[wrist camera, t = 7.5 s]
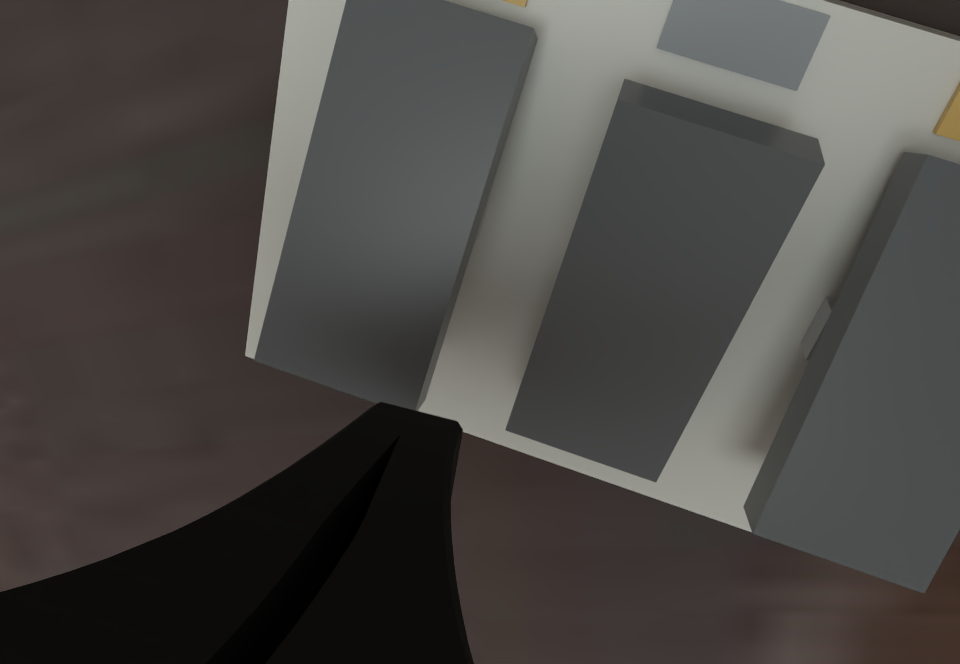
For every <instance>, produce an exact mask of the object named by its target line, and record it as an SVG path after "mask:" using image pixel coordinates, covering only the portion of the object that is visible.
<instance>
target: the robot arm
mask: <svg viewBox="0 0 960 664" xmlns="http://www.w3.org/2000/svg"><path fill="white" fill-rule="evenodd" d="M462 432H463V429H462V427H461V426H460V424H459V423H458V422H457V421H455V420H451V419H447V418H443V417H439V416H435V415H431V414H428V413H424V412H420V411H416V410H412V409H408V408H404V407H400V406H396V405H392V404H388V403H384V402H379V403H378V404H376V405H374V406H373V407H371V408H370V409H369V410H367V411H366V412H365V413H363V414H362V415H361V416H359V417H358V418H357V419H355V420H354V421H353V422H352V423H350V424H349V425H348V426H346V427H345V428H344V429H342V430H341V431H340V432H338V433H337V434H335V435H334V436H333V437H331V438H330V439H329V440H327V441H326V442H324V443H323V444H322V445H320V446H319V447H317V448H316V449H314V450H313V451H311V452H310V453H309V454H307V455H306V456H304V457H303V458H301V459H300V460H298V461H297V462H295V463H294V464H293V465H291V466H290V467H288V468H287V469H285V470H283V471H282V472H280V473H279V474H277V475H275V476H274V477H272V478H271V479H269V480H267V481H266V482H264V483H262V484H261V485H259V486H257V487H256V488H254V489H252V490H251V491H249V492H248V493H246V494H244V495H243V496H241V497H239V498H237V499H236V500H234V501H232V502H230V503H228V504H227V505H225V506H223V507H221V508H219V509H217V510H216V511H214V512H212V513H210V514H208V515H206V516H204V517H202V518H200V519H198V520H196V521H194V522H192V523H190V524H188V525H186V526H184V527H182V528H179V529H177V530H175V531H173V532H171V533H168V534H166V535H163V536H161V537H158V538H156V539H154V540H151V541H149V542H146V543H144V544H141V545H139V546H136V547H134V548H131V549H129V550H127V551H124V552H122V553H119V554H117V555H114V556H112V557H109V558H107V559H104V560H101V561H98V562H95V563H92V564H90V565H87V566H84V567H81V568H78V569H75V570H72V571H69V572H66V573H63V574H60V575H57V576H53V577H50V578H47V579H44V580H41V581H37V582H34V583H31V584H28V585H24V586H21V587H17V588H14V589H10V590H7V591H3V592H0V664H474V663H473V659H472V655H471V652H470V648H469V644H468V640H467V635H466V631H465V626H464V621H463V616H462V611H461V606H460V600H459V594H458V588H457V582H456V574H455V566H454V557H453V546H452V534H451V495H452V490H453V484H454V478H455V472H456V466H457V461H458V455H459V449H460V443H461V438H462Z"/></svg>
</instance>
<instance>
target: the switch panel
mask: <svg viewBox="0 0 960 664" xmlns="http://www.w3.org/2000/svg"><path fill="white" fill-rule="evenodd" d="M445 1H448V2H452V3H455V4H458V5H461V6H464V7H468V8H471V9H474V10H477V11H481V12H484V13H487V14H490V15H494V16H497V17H500V18H503V19H506V20H510V21H513V22H516V23H519V24H523V25H526V26H529V27H532V28H534V30H535V33H536V35H537V38H538V40H537V43H536V46H535V49H534V53H533V56H532V59H531V62H530V66H529V69H528V72H527V75H526V78H525V82H524V85H523V88H522V91H521V94H520V98H519V101H518V104H517V107H516V110H515V114H514V117H513V120H512V123H511V126H510V130H509V133H508V136H507V139H506V143H505V146H504V149H503V152H502V155H501V159H500V162H499V165H498V168H497V171H496V175H495V178H494V181H493V184H492V187H491V191H490V194H489V197H488V200H487V203H486V207H485V210H484V213H483V216H482V220H481V223H480V226H479V229H478V232H477V236H476V239H475V242H474V245H473V248H472V252H471V255H470V258H469V261H468V264H467V268H466V271H465V274H464V277H463V281H462V284H461V287H460V290H459V293H458V297H457V300H456V303H455V306H454V309H453V313H452V316H451V319H450V322H449V325H448V329H447V332H446V335H445V338H444V341H443V345H442V348H441V351H440V354H439V358H438V361H437V364H436V367H435V370H434V374H433V377H432V380H431V383H430V386H429V390H428V393H427V396H426V399H425V402H424V403H423V404H422V406H421V407H420V408H419V410H418V411H420V412H424V413H428V414H431V415H435V416H439V417H443V418H447V419H451V420H455V421H457V422H458V423H459V424H460V426H461V427H462V429H463V432H465V433H468V434H471V435H474V436H477V437H480V438H483V439H485V440H488V441H491V442H494V443H497V444H500V445H503V446H505V447H508V448H511V449H514V450H517V451H520V452H523V453H526V454H528V455H531V456H534V457H537V458H540V459H543V460H546V461H549V462H551V463H554V464H557V465H560V466H563V467H566V468H569V469H572V470H574V471H577V472H580V473H583V474H586V475H589V476H592V477H595V478H597V479H600V480H603V481H606V482H609V483H612V484H615V485H617V486H620V487H623V488H626V489H629V490H632V491H635V492H638V493H640V494H643V495H646V496H649V497H652V498H655V499H658V500H661V501H663V502H666V503H669V504H672V505H675V506H678V507H681V508H684V509H686V510H689V511H692V512H695V513H698V514H701V515H704V516H707V517H709V518H712V519H715V520H718V521H721V522H724V523H727V524H730V525H732V526H735V527H738V528H741V529H744V530H747V531H750V532H752V531H751V528H750V525H749V522H748V519H747V516H746V513H745V510H744V508H743V506H744V504H745V502H746V499H747V497H748V495H749V493H750V491H751V488H752V486H753V484H754V482H755V479H756V477H757V475H758V473H759V471H760V468H761V466H762V464H763V462H764V460H765V457H766V455H767V453H768V451H769V449H770V446H771V444H772V442H773V440H774V438H775V435H776V433H777V431H778V429H779V427H780V424H781V422H782V420H783V418H784V415H785V413H786V411H787V409H788V407H789V404H790V402H791V400H792V398H793V396H794V393H795V391H796V389H797V387H798V385H799V382H800V380H801V378H802V376H803V374H804V371H805V369H806V367H807V365H808V362H809V360H810V358H811V356H812V354H813V351H814V349H815V347H816V345H817V343H818V340H819V338H820V336H821V334H822V332H823V329H824V327H825V325H826V323H827V321H828V318H829V316H830V314H831V312H832V310H833V307H834V305H835V303H836V301H837V298H838V296H839V294H840V292H841V290H842V287H843V285H844V283H845V281H846V279H847V276H848V274H849V272H850V270H851V268H852V265H853V263H854V261H855V259H856V257H857V254H858V252H859V250H860V248H861V245H862V243H863V241H864V239H865V237H866V234H867V232H868V230H869V228H870V226H871V223H872V221H873V219H874V217H875V215H876V212H877V210H878V208H879V206H880V204H881V201H882V199H883V197H884V195H885V193H886V190H887V188H888V186H889V184H890V181H891V179H892V177H893V175H894V173H895V170H896V168H897V166H898V164H899V162H900V159H901V157H902V155H903V153H904V152H910V153H919V154H928V155H931V156H934V157H938V158H941V159H944V160H947V161H951V162H954V163H957V164H960V36H957V35H954V34H950V33H947V32H944V31H940V30H937V29H934V28H930V27H927V26H924V25H920V24H917V23H914V22H910V21H907V20H904V19H900V18H897V17H894V16H890V15H887V14H884V13H880V12H877V11H873V10H870V9H867V8H863V7H860V6H857V5H853V4H850V3H847V2H843V1H840V0H445ZM345 3H346V0H289V3H288V11H287V19H286V27H285V35H284V44H283V52H282V60H281V68H280V76H279V84H278V92H277V101H276V109H275V117H274V125H273V133H272V141H271V149H270V157H269V166H268V174H267V182H266V190H265V198H264V206H263V214H262V223H261V231H260V239H259V247H258V255H257V263H256V271H255V280H254V288H253V296H252V304H251V312H250V320H249V328H248V336H247V345H246V353H245V356H247V357H250V358H253V359H254V358H255V354H256V350H257V346H258V342H259V338H260V334H261V330H262V326H263V322H264V319H265V315H266V311H267V307H268V303H269V299H270V295H271V291H272V287H273V283H274V280H275V276H276V272H277V268H278V264H279V260H280V256H281V252H282V248H283V244H284V241H285V237H286V233H287V229H288V225H289V221H290V217H291V213H292V209H293V205H294V202H295V198H296V194H297V190H298V186H299V182H300V178H301V174H302V170H303V167H304V163H305V159H306V155H307V151H308V147H309V143H310V139H311V135H312V131H313V128H314V124H315V120H316V116H317V112H318V108H319V104H320V100H321V96H322V92H323V89H324V85H325V81H326V77H327V73H328V69H329V65H330V61H331V57H332V53H333V50H334V46H335V42H336V38H337V34H338V30H339V26H340V22H341V18H342V14H343V11H344V7H345ZM624 78H625V79H628V80H631V81H634V82H637V83H641V84H644V85H647V86H650V87H654V88H657V89H660V90H663V91H666V92H670V93H673V94H676V95H679V96H682V97H686V98H689V99H692V100H695V101H698V102H702V103H705V104H708V105H711V106H715V107H718V108H721V109H724V110H727V111H731V112H734V113H737V114H740V115H743V116H747V117H750V118H753V119H756V120H759V121H763V122H766V123H769V124H772V125H775V126H779V127H782V128H785V129H788V130H792V131H795V132H798V133H801V134H804V135H808V136H811V137H814V138H817V139H818V140H819V144H820V147H821V151H822V155H823V158H824V162H825V166H824V168H823V169H822V171H821V173H820V175H819V177H818V179H817V181H816V183H815V184H814V186H813V188H812V190H811V192H810V194H809V196H808V198H807V200H806V201H805V203H804V205H803V207H802V209H801V211H800V213H799V215H798V216H797V218H796V220H795V222H794V224H793V226H792V228H791V230H790V232H789V233H788V235H787V237H786V239H785V241H784V243H783V245H782V247H781V248H780V250H779V252H778V254H777V256H776V258H775V260H774V262H773V264H772V265H771V267H770V269H769V271H768V273H767V275H766V277H765V279H764V280H763V282H762V284H761V286H760V288H759V290H758V292H757V294H756V296H755V297H754V299H753V301H752V303H751V305H750V307H749V309H748V311H747V312H746V314H745V316H744V318H743V320H742V322H741V324H740V326H739V328H738V329H737V331H736V333H735V335H734V337H733V339H732V341H731V343H730V344H729V346H728V348H727V350H726V352H725V354H724V356H723V358H722V360H721V361H720V363H719V365H718V367H717V369H716V371H715V373H714V375H713V376H712V378H711V380H710V382H709V384H708V386H707V388H706V390H705V392H704V393H703V395H702V397H701V399H700V401H699V403H698V405H697V407H696V409H695V410H694V412H693V414H692V416H691V418H690V420H689V422H688V424H687V425H686V427H685V429H684V431H683V433H682V435H681V437H680V439H679V441H678V442H677V444H676V446H675V448H674V450H673V452H672V454H671V456H670V457H669V459H668V461H667V463H666V465H665V467H664V469H663V471H662V473H661V474H660V476H659V478H658V480H657V482H653V481H650V480H647V479H644V478H641V477H638V476H635V475H633V474H630V473H627V472H624V471H621V470H618V469H615V468H612V467H609V466H607V465H604V464H601V463H598V462H595V461H592V460H589V459H586V458H583V457H581V456H578V455H575V454H572V453H569V452H566V451H563V450H560V449H558V448H555V447H552V446H549V445H546V444H543V443H540V442H537V441H534V440H532V439H529V438H526V437H523V436H520V435H517V434H514V433H511V432H509V431H506V430H505V429H506V426H507V423H508V420H509V417H510V414H511V411H512V408H513V405H514V402H515V399H516V396H517V393H518V391H519V388H520V385H521V382H522V379H523V376H524V373H525V370H526V367H527V364H528V361H529V358H530V355H531V352H532V349H533V346H534V343H535V340H536V338H537V335H538V332H539V329H540V326H541V323H542V320H543V317H544V314H545V311H546V308H547V305H548V302H549V299H550V296H551V293H552V290H553V287H554V285H555V282H556V279H557V276H558V273H559V270H560V267H561V264H562V261H563V258H564V255H565V252H566V249H567V246H568V243H569V240H570V237H571V234H572V232H573V229H574V226H575V223H576V220H577V217H578V214H579V211H580V208H581V205H582V202H583V199H584V196H585V193H586V190H587V187H588V184H589V181H590V179H591V176H592V173H593V170H594V167H595V164H596V161H597V158H598V155H599V152H600V149H601V146H602V143H603V140H604V137H605V134H606V131H607V128H608V126H609V123H610V120H611V117H612V114H613V111H614V108H615V105H616V102H617V99H618V96H619V93H620V90H621V87H622V84H623V81H624Z"/></svg>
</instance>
